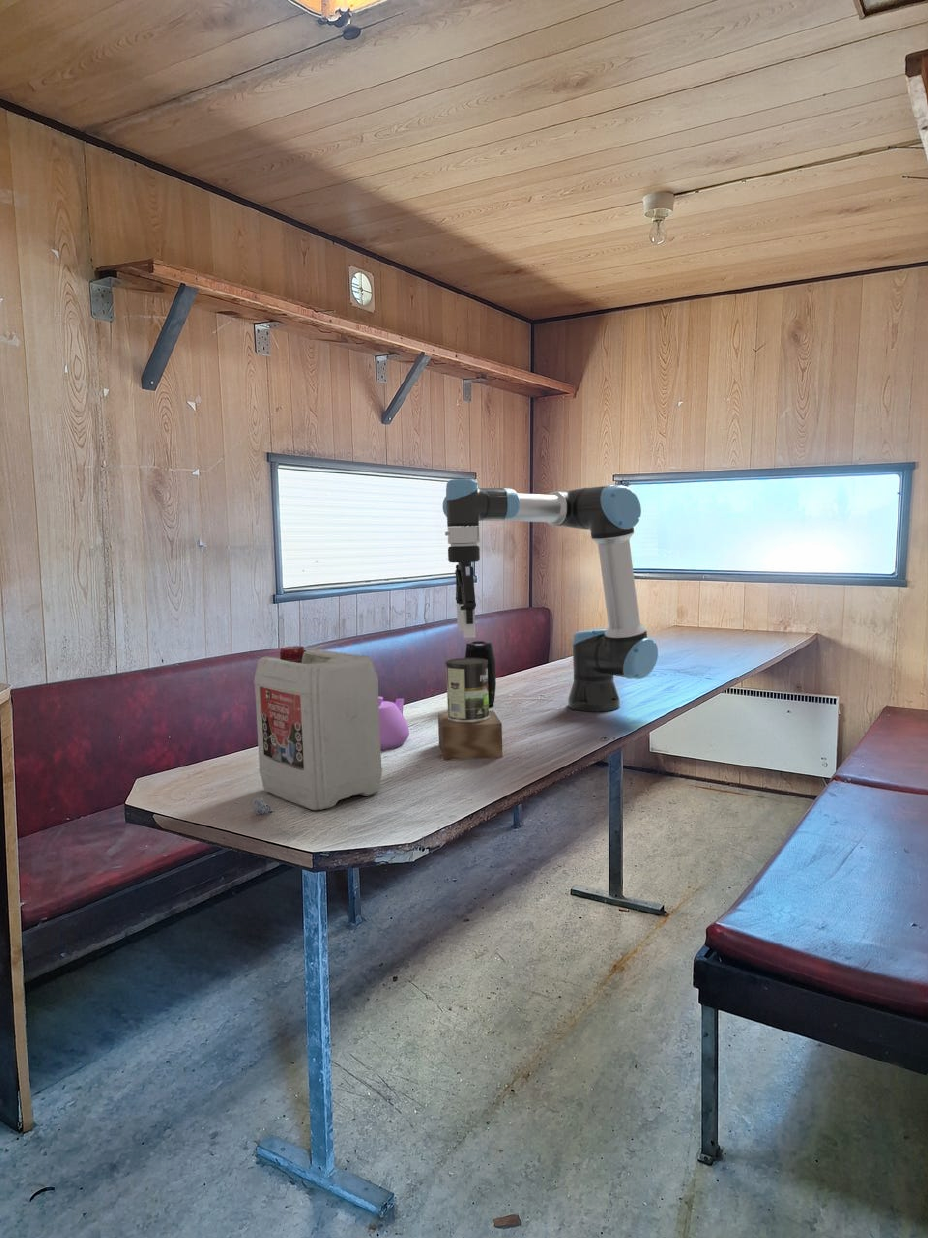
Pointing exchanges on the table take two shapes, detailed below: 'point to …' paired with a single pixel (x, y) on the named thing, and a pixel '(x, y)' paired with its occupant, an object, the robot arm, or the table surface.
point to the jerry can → (318, 726)
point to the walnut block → (470, 738)
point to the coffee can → (467, 690)
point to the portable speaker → (486, 652)
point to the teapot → (392, 724)
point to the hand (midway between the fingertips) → (466, 634)
